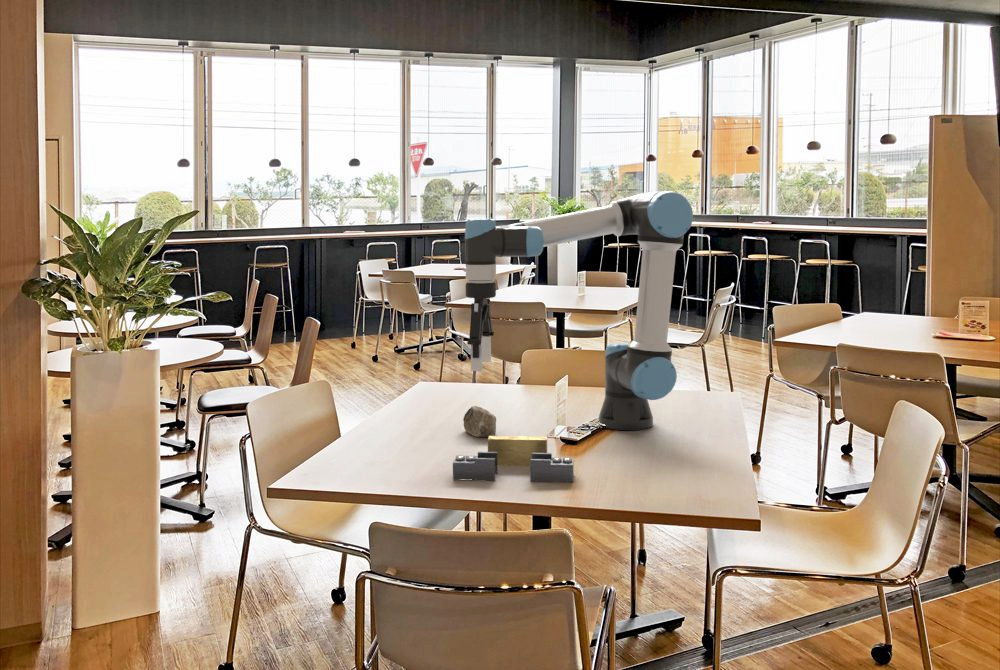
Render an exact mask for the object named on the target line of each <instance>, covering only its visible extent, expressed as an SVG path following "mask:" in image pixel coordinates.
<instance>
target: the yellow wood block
mask: <svg viewBox="0 0 1000 670" xmlns="http://www.w3.org/2000/svg"><path fill="white" fill-rule="evenodd" d="M487 452H497V454H498V466H520V467H523V466H524V467H525V466H526V467H530V459H532V453H548V436H525V435H523V436H522V435H521V436H520V435H518V436H517V435H516V436H515V435H514V436H513V435H510V436H509V435H506V436H505V435H495V436H489V437H487Z"/></svg>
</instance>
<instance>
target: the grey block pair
mask: <svg viewBox="0 0 1000 670" xmlns="http://www.w3.org/2000/svg"><path fill="white" fill-rule="evenodd" d="M574 461H575V458H574V457H570V456H569V457H568V456H567V457H560V456H559V457H558V456H553V455H552V452H547V453H532V459H530V466H529V470H530V471H529V472H530V473H529V475H530V478H529V481H530V483H532V482H533V483H568V484H569V483H571V484H572V483H574V467H575V466H574V465H575V464H574ZM498 466H499V465H498V454H497V452H488V451H477V455H463V454H460V455H456V456H455V457H454V459H453V461H452V480H453V479H472V480H471V481H477V480H491V481H490V482H495V481H496V475H497V474H498V473H499V471H498V469H499V467H498Z"/></svg>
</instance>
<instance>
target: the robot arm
mask: <svg viewBox="0 0 1000 670" xmlns="http://www.w3.org/2000/svg"><path fill="white" fill-rule="evenodd" d="M693 212H694V211H693V208H692V205H691V203H690V202H689V200H688V199H687V198H686V197H685V196H684V195H683V194H681V193H679V192H677V191H671V190H658V191H656V190H655V191H644V192H641V193H638V194H635V195H632V196H628V197H626V198H620V199H617V200H612V201H610V202H609V204H608V205H606V206H601V207H594V208H589V209H585V210H580V211H573V212H569V213H564V214H557V215H554V216H553V215H552V216H548V217H543V218H537V219H532V220H527V221H521V222H517V223H512V224H500V225H497V223H496V220H495V219H494V218H469V219H467V220H466V222H465V228H464V246H465V247H464V248H465V250H464V251H465V253H464V254H465V255H464V256H465V267H463V270H462V271H463V272H465V281H467V282H466V283H465V296H466V298H468V299H474V300H473V302H471V304H470V307H471V308H470V309H471V310H470V311H471V312H470V324H469V336H468V340H467V341H466V342H467V345H470V371H471V372H483V362H487V363H488V362H489V363H490V362H492V336H493V337H494V335H495V332H494V331H493V326H492V325H493V324H492V314H491V299H492V298H495V297H496V295H497V283H496V282H495V281H496V280H497V261H496V259H497V257H498V258H502V257H503V258H505V257H506V258H508V257H510V258H511V257H512V258H521V257H524V258H526V257H527V258H530V257H538V256H541V254H542V252H543V251H544V248H545V247H550V246H556V245H560V244H565V243H566V244H567V243H572V242H576V241H581V240H587V239H592V238H597V237H601V236H606V235H607V236H608V235H612V234H613V235H614V236H615V237H621V236H628V235H629V236H630V235H631V236H632V235H637V243H638V244H639V246H640V247H641V248H642V254H641V264H640V275H639V286H638V296H637V308H636V316H635V326H634V327H635V328H634V337H633V339H632V341H630V343H629V342H628V343H612V344H608V345H607V346H606V348H605V353H604V354H605V355H604V363H605V364H604V368H605V369H604V370H605V371H604V372H605V373H604V374H605V376H604V382H605V383H604V391H605V392H604V399H603V402H602V405H601V408H600V411H599V415H598V423H599V422H600V423H602V424H605V425H606V428H605V429H610V430H616V431H617V430H619V431H639V430H645V429H649V428H651V427H653V425H654V416H653V413H652V409H651V406H650V403H649V401H657V400H660V399H663V398H665V397H666V396H667V395H668V394H670V393H671V392H672V391H673V389H674V387H675V385H676V383H677V377H678V375H677V374H678V373H677V369H676V367H675V366H674V364H673V362H672V353H673V348H672V347H671V346H670V344H669V343H668V335H669V327H670V326H669V325H670V313H671V306H672V305H671V304H672V295H673V285H674V284H673V283H674V275H675V274H674V273H675V266H676V257H677V256H676V255H677V251H679V249H680V248H682V247H683V245H684V237H685V236H684V235H685V234H686V233H687V232H688V231H689V230H690V228H691V227H692V223H693V220H694V213H693Z"/></svg>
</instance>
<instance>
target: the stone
mask: <svg viewBox="0 0 1000 670" xmlns="http://www.w3.org/2000/svg"><path fill="white" fill-rule="evenodd" d="M462 421H463V428H464V430H465V431H466V432H467V433H468V434H470V435H472V436H474V437H476V438H483V437H487V438H489V436H497V435H496V434H497V417H496V415H494V414H493V413H491V412H490V411H489V410H487V409H485V408H483V407H480V406H477V405H474V406H470V407H469V408H468V410H467V411H466V412H465V413H464V416H463V420H462Z"/></svg>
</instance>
